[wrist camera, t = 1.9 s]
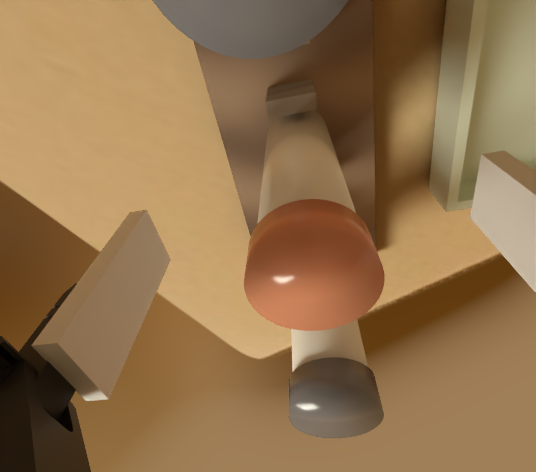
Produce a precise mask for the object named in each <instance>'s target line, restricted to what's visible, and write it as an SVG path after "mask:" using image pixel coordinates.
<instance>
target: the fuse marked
mask: <svg viewBox="0 0 536 472" xmlns="http://www.w3.org/2000/svg"><path fill="white" fill-rule="evenodd" d="M383 286H384V271H383V267H382V264H381V261H380V259H379V256H378V253H377V250H376V248H375V245H374V242H373V240H372V237H371V234H370V232H369V229H368V227H367V225H366V224H365V222H364V221H363V220H362V219H361V218H360V216H359V215H358V214H356V211H355V208H354V205H353V202H352V199H351V197H350V194H349V191H348V188H347V185H346V182H345V179H344V176H343V173H342V170H341V167H340V164H339V161H338V158H337V155H336V152H335V150H334V147H333V144H332V141H331V138H330V135H329V132H328V129H327V126H326V123H325V121H324V119H323V118H322V116H321V115H320V114H319V113H318V112H317V111H316V110H310V111H305V112H300V113H295V114H290V115H285V116H280V117H275V118H273V119H272V121H271V123H270V125H269V128H268V133H267V142H266V151H265V160H264V169H263V178H262V187H261V196H260V205H259V215H258V224H257V226H256V227H255V229H254V231H253V233H252V235H251V238H250V241H249V248H248V256H247V263H246V271H245V278H244V289H245V293H246V296H247V298H248V300H249V302H250V304H251V305H252V307H253V308H254V309H255V310H256V311H257V312H258V313H259V314H260V315H261V316H263V317H264V318H266V319H267V320H269V321H271V322H273V323H275V324H277V325H280V326H283V327H286V328H290V329H295V330H303V331H319V330H327V329H332V328H337V327H340V326H343V325H346V324H348V323H350V322H352V321H354V320H356V319H358V318H359V317H361V316H362V315H364V314H365V313H366V312H367V311H369V310H370V309H371V308H372V307H373V305H374V304H375V303H376V302H377V300H378V299H379V297H380V295H381V293H382V290H383Z"/></svg>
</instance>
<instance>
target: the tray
mask: <svg viewBox="0 0 536 472" xmlns="http://www.w3.org/2000/svg"><path fill="white" fill-rule="evenodd" d="M503 150H505V151H506V152H508V153H509V154H511V155H512V156H514V157H515V158H517V159H518V160H520V161H521V162H523V163H524V164H526V165H527V166H529V167H530V168H532V169H533V170H535V171H536V0H446V11H445V22H444V32H443V43H442V54H441V64H440V75H439V86H438V96H437V107H436V118H435V128H434V139H433V149H432V160H431V171H430V181H429V190H430V191H431V193H432V194H433V195H434V197H435V198H436V199H437V201H438V202H439V203H440V204H441V206H442V207H443V208H444V210H445V211H446V212H447V211H454V210H461V209H468V208H472V204H473V199H474V193H475V187H476V182H477V176H478V170H479V165H480V159H481V154H485V153H491V152H497V151H503Z"/></svg>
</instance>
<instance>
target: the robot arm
mask: <svg viewBox="0 0 536 472" xmlns="http://www.w3.org/2000/svg"><path fill="white" fill-rule="evenodd" d="M470 218H471V219H472V220H473V222H474V223H475V224H476V225H477V226H478V227H479V228H480V230H481V231H482V232H483V233H484V234H485V235H486V236H487V238H488V239H489V240H490V241H491V242H492V243H493V244H494V246H495V247H496V248H497V249H498V250H499V251H500V252H501V254H502V255H503V256H504V257H505V258H506V259H507V260H508V262H509V263H510V264H511V265H512V266H513V267H514V268H515V269H516V271H517V272H518V273H519V274H520V275H521V276H522V278H523V279H524V280H525V281H526V282H527V283H528V284H529V286H530V287H531V288H532V289H533V290H534V291H535V292H536V171H535V170H533V169H532V168H530V167H529V166H527V165H526V164H524V163H523V162H521V161H520V160H518V159H517V158H515V157H514V156H512V155H511V154H509V153H508V152H506V151H505V150H503V151H497V152H491V153H485V154H481V159H480V165H479V170H478V176H477V182H476V187H475V193H474V199H473V204H472V210H471V216H470ZM170 260H171V259H170V257H169V255H168V253H167V251H166V249H165V247H164V245H163V243H162V241H161V239H160V237H159V234H158V232H157V230H156V228H155V226H154V224H153V222H152V220H151V218H150V216H149V214H148V212H147V210H142V211H136V212H130V213H129V214H128V216H127V217H126V218H125V220H124V221H123V223H122V224H121V225H120V227H119V228H118V229H117V231H116V232H115V233H114V235H113V236H112V237H111V239H110V240H109V241H108V243H107V244H106V245H105V247H104V248H103V249H102V251H101V252H100V254H99V255H98V256H97V258H96V259H95V260H94V262H93V263H92V265H91V266H90V267H89V268H88V270H87V271H86V272H85V274H84V275H83V276H82V278H81V279H80V281H79V282H78V283H76V284H74V285H73V286H72V287H71V288H70V289H69V290H67V291H66V292H65V293H64V294H63V295H62V296H61V298H60V299H59V300H58V301H57V303H56V304H55V305H54V309H51V311H50V312H49V313H48V314H47V316H46V319H44V320H43V321H42V322H41V324H40V325H39V326H38V328H37V329H36V330H35V331H34V333H33V334H32V335H31V337H30V338H29V339H28V341H27V342H26V343H25V345H24V346H23V347H22V349H21V350H20V351H19V352H18V351H17V350H16V349H15V348H14V347H13V346H12V345H11V344H10V343H8V342H7V341H6V340H5V339H4V338H3V337H2V336H0V472H91V470H90V466H89V462H88V458H87V454H86V449H85V445H84V441H83V437H82V433H81V429H80V425H79V421H78V417H77V412H76V409H75V407H74V406H73V404H72V403H71V402H70V400H71V398H72V396H73V394H74V392H75V391H77V392H78V393H79V394H80V395H81V396H82V397H83V398H84V399H85V400H86V401H92V400H105V399H109V397H110V395H111V393H112V390H113V388H114V386H115V384H116V381H117V379H118V377H119V375H120V372H121V370H122V368H123V366H124V363H125V361H126V359H127V357H128V354H129V352H130V350H131V348H132V345H133V343H134V341H135V339H136V336H137V334H138V332H139V330H140V327H141V325H142V323H143V321H144V318H145V316H146V314H147V312H148V309H149V307H150V305H151V302H152V300H153V298H154V296H155V294H156V291H157V289H158V287H159V285H160V282H161V280H162V278H163V276H164V273H165V271H166V269H167V267H168V264H169V262H170Z"/></svg>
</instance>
